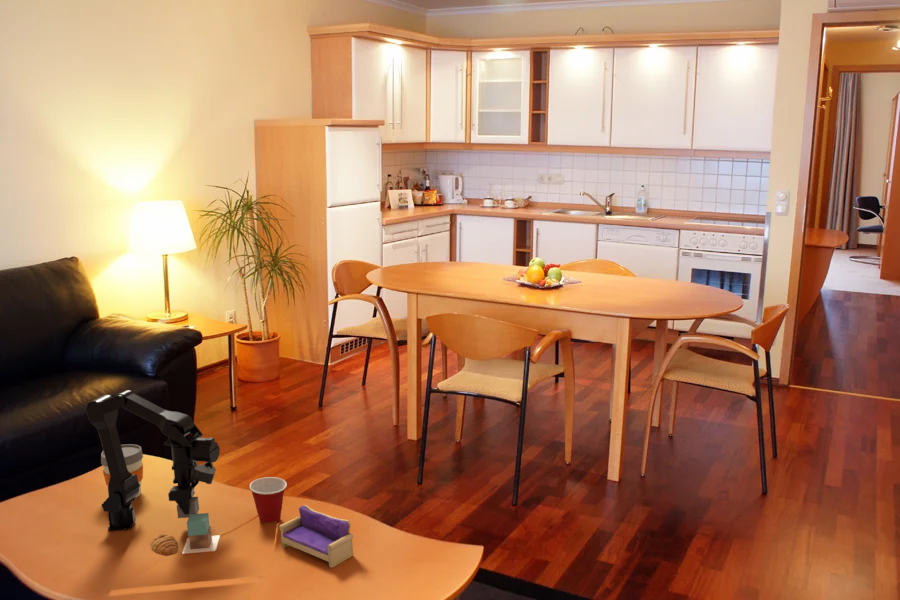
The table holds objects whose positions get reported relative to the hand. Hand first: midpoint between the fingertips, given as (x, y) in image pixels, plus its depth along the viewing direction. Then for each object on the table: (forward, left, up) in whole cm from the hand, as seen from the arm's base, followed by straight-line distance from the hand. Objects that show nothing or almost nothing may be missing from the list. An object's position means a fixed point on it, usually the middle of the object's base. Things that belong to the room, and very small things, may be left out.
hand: (188, 510), depth 241 cm
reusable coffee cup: (-25, +30, -7) cm, 40 cm away
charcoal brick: (0, 0, -1) cm, 1 cm away
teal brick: (+5, -11, -2) cm, 12 cm away
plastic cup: (+23, +2, -7) cm, 24 cm away
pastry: (-5, -10, -7) cm, 14 cm away
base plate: (+5, -11, -7) cm, 14 cm away
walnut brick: (+5, -11, -6) cm, 13 cm away
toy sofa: (+37, -19, -7) cm, 42 cm away
